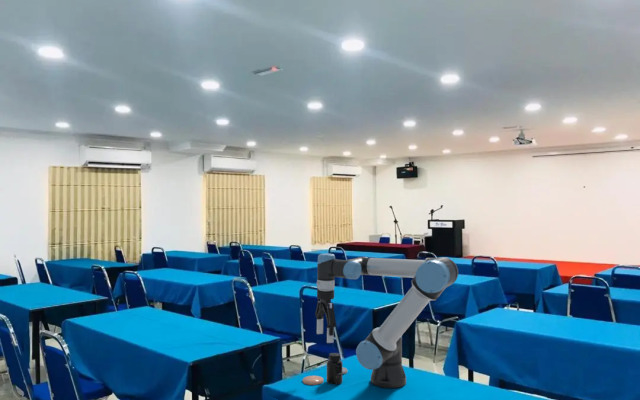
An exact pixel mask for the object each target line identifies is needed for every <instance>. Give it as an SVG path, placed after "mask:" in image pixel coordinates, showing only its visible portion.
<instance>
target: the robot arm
mask: <svg viewBox="0 0 640 400" xmlns="http://www.w3.org/2000/svg"><path fill="white" fill-rule="evenodd" d="M316 265H317V266H316V267H317V277H316V278H317V280H316V283H315V284H316V288H317V290H316V298H317V304H316V309H315V312H314V313H315V314H314V315H315V317H316V335H323V334H324V318H326V322H327V324H326V325H327V326H326V343H327V344H331V343H332V344H333V343H334V340H335V338H334V336H335V334H334V333H335V331H334V329H335V328H336V327H337V323H336V317H335V309H334V308H335V307H334V306H335V305H334V303H333V302H332V303H331V300H333V299H335V290H334V289H335V284H336V283H335V278H341V279H348V280H358V279H359V278H360V277H361V275H362V276H363V275H364V276H378V277H379V276H381V277H382V276H383V277H396V278H397V277H398V278H412V280H411V281H410V282H411V287H410V288H409V289H408V291H407V292H406V294H405V295H404V296H403V297H402V298H401V300H400V301H399V302H398V304H397V305H396V306H395V307H394V308H393V310H392V311H391V313H390V314H389V315H388V316H387V317H386V319H385V320H384V321H383V323H382V324H381V325H380V326H379V327H376V328H373V330H372V331H370V333H369V334H368V336H367V337H366V338H365V339H364V340H361V341H360V342H359V344H358V345H357V347H356V349H355V354H356V359H357V361H358V362H359V364H360V365H361V366H362V367H363V368H365V369H367V370H370V371H371V370H372V372H371V374H370V382H371V384H372V385H374V386H377V387H380V388H385V389H396V388H401V387H403V386H405V385H406V384H407V376H406V372H405V370H404V367H403V358H402V357H403V345H402V344H403V337H402V336H403V334H404V333H406V331H407V330H408V329H409V328H410V326H411V325H412V323H413V322H414V321H415V320H416V319H417V317H419V315H420V314H421V312H422V311H423V310H424V309H425V307H426V306H427V305H428V304H429V303H430V301H436V300H437V299H438V298H439V297H440V296H441V294H442V293H443V292H444V291H445V289H446V288H448V287H450V286H451V285H453V284H455V282H456V281H457V279H458V276H459V269H458V266H457V264H456V263H455V261H453V260H452V259H450V258H448V257H447V256H445V257H444V256H443V257H441V256H440V257H426V258H425V259H405V258H403V259H402V258H386V257H385V258H383V257H382V258H380V257H367V256H358V257H356V258H351V259H337V258H336V256H335V254H334V253H320V254H318V256H317V264H316ZM324 315H325V317H324Z"/></svg>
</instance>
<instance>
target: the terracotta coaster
mask: <svg viewBox="0 0 640 400" xmlns="http://www.w3.org/2000/svg"><path fill="white" fill-rule="evenodd" d="M302 383H303V384H305V385H309V386H316V385H317V386H318V385H320V384H323V383H324V378H323V377H322V376H319V375H308V376H305V377H303V378H302Z"/></svg>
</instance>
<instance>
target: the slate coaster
mask: <svg viewBox="0 0 640 400" xmlns="http://www.w3.org/2000/svg"><path fill="white" fill-rule="evenodd" d="M347 373H348V369H347V367H343V366H342V376H343V374H344V375H346V374H347Z"/></svg>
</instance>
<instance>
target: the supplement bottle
mask: <svg viewBox="0 0 640 400" xmlns="http://www.w3.org/2000/svg"><path fill="white" fill-rule="evenodd" d="M342 367H343V361H342V360H341V354H340V353H338V352H331V353H329V354H328V360H327V362H326V383H327V384H329V385H334V386H336V385H340V384H342V383H343V375H342Z"/></svg>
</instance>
